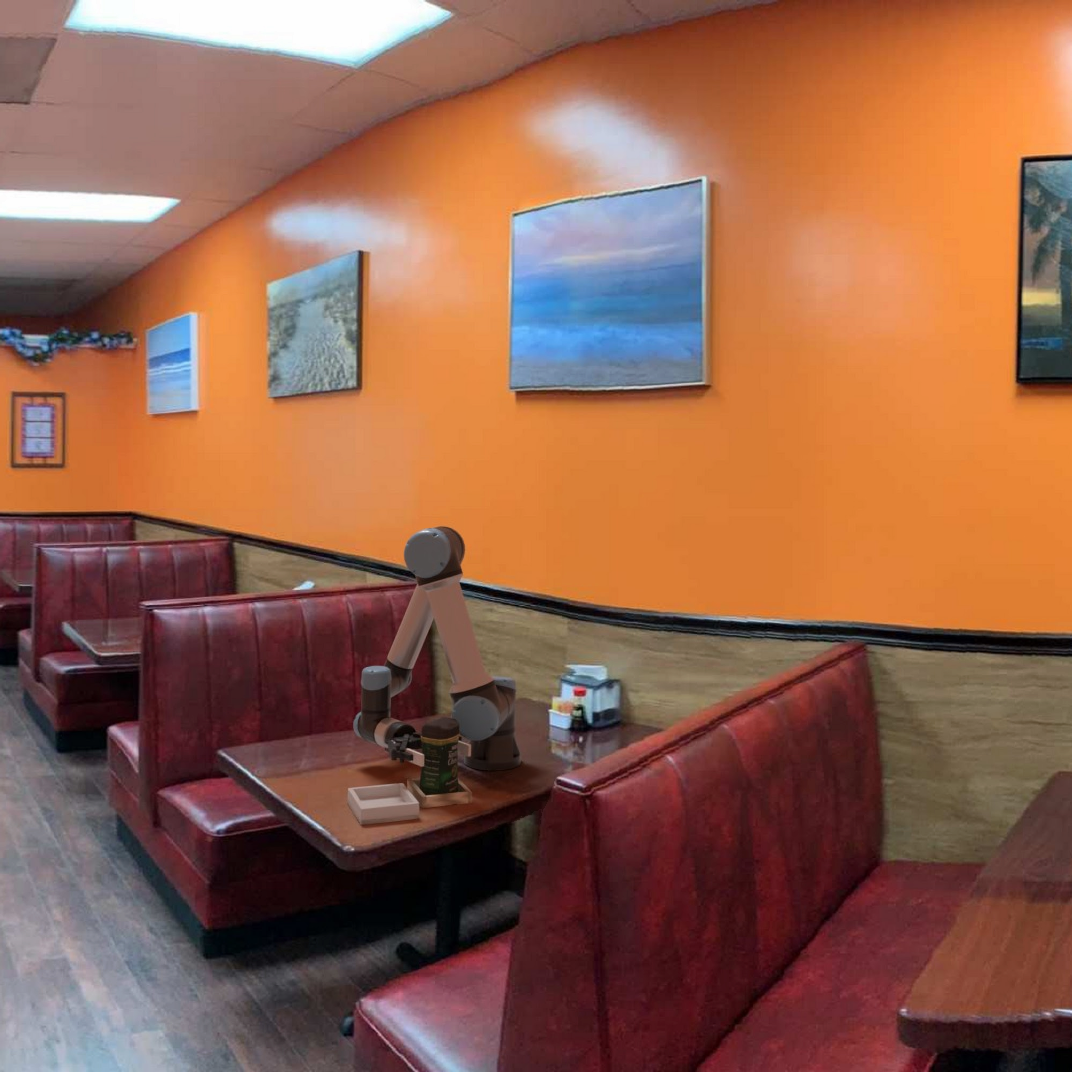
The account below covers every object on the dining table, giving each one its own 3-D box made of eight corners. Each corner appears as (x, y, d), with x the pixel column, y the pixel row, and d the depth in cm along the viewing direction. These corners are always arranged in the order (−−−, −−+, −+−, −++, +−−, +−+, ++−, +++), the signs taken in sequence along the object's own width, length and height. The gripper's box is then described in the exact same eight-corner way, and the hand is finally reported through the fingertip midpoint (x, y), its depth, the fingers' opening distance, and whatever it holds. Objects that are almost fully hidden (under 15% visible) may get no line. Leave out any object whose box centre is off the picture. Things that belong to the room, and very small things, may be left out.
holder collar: (454, 784, 250) (454, 774, 250) (472, 802, 237) (472, 792, 237) (407, 789, 246) (407, 779, 246) (422, 808, 233) (422, 797, 233)
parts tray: (402, 797, 240) (402, 783, 240) (418, 818, 226) (419, 803, 226) (347, 802, 235) (347, 788, 235) (360, 824, 221) (361, 809, 221)
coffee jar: (442, 804, 235) (444, 726, 234) (414, 799, 239) (415, 721, 238) (463, 793, 244) (465, 717, 243) (435, 787, 248) (437, 712, 246)
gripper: (436, 742, 263) (487, 762, 247) (352, 759, 246) (402, 781, 231) (437, 714, 262) (488, 731, 246) (353, 729, 246) (402, 748, 230)
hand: (446, 755), depth 238 cm, fingers open, 13 cm apart
